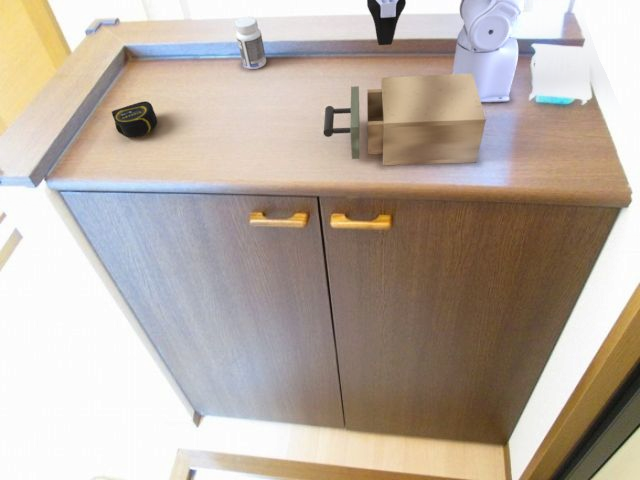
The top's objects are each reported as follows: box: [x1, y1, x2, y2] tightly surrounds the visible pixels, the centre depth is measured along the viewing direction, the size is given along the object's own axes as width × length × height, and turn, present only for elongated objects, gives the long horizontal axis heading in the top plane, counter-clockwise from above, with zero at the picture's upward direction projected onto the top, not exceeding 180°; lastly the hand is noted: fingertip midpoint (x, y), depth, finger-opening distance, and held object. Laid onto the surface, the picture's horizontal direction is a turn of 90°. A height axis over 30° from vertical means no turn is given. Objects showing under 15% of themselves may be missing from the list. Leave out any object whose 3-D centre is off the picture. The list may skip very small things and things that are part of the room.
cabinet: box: [380, 73, 487, 166], centre depth 69 cm, size 14×12×8 cm
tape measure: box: [111, 101, 158, 138], centre depth 79 cm, size 7×7×4 cm
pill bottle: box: [235, 16, 267, 70], centre depth 89 cm, size 5×5×8 cm
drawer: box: [323, 85, 384, 160], centre depth 70 cm, size 17×10×6 cm, turn 87°
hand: (384, 42), depth 74 cm, fingers closed
